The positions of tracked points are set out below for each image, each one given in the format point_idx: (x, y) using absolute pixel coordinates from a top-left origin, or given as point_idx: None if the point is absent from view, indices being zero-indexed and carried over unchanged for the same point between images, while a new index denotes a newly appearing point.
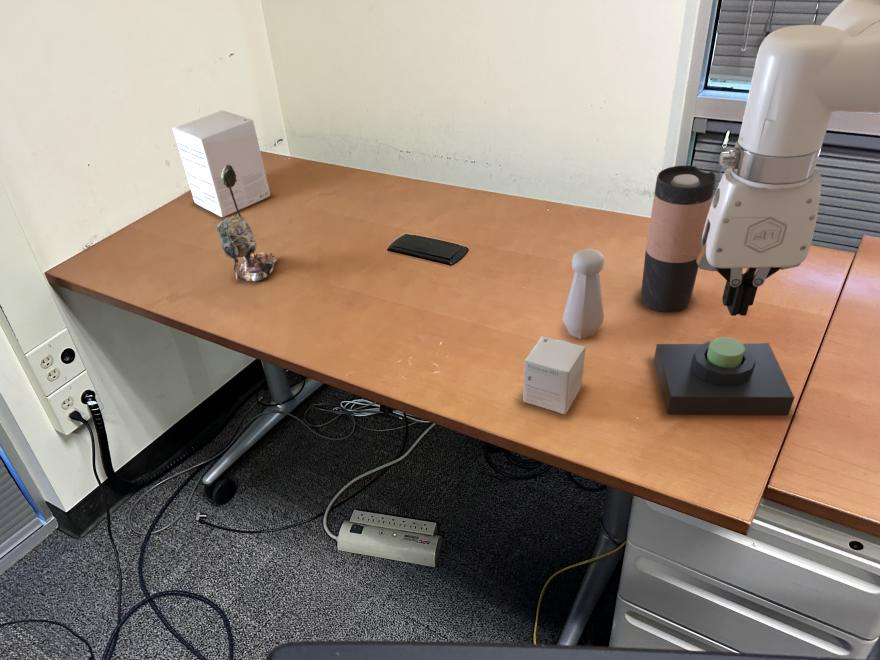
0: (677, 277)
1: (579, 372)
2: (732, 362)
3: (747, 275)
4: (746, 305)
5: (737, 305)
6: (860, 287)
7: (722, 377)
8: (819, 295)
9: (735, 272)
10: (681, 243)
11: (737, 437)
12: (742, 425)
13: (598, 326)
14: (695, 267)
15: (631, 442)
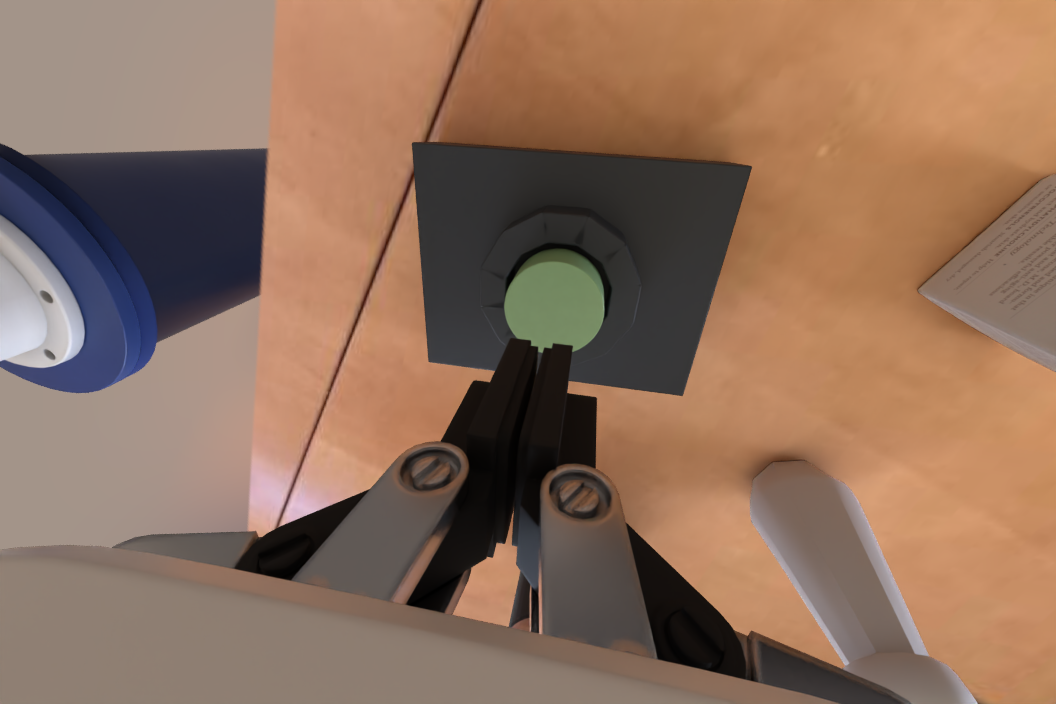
0: None
1: (1039, 284)
2: (550, 255)
3: (479, 537)
4: (510, 365)
5: (553, 372)
6: (264, 490)
7: (587, 214)
8: (323, 485)
9: (600, 584)
10: None
11: (580, 47)
12: (551, 105)
13: (780, 479)
14: (529, 591)
15: (908, 21)
